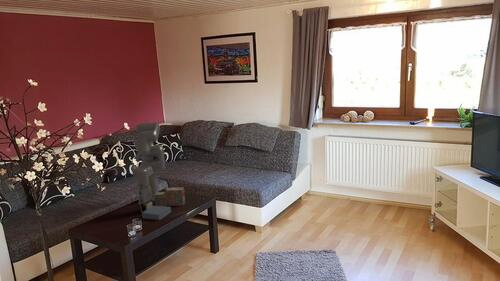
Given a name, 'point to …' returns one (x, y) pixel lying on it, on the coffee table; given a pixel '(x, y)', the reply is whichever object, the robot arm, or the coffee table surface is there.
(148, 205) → the cream block
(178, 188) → the stack of blocks
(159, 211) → the slate base plinth
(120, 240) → the coffee table surface
